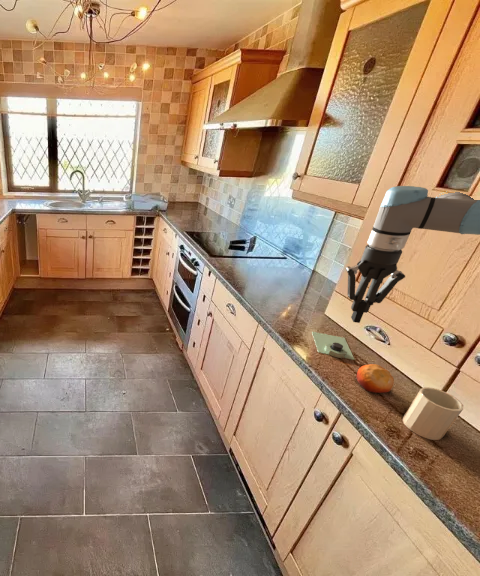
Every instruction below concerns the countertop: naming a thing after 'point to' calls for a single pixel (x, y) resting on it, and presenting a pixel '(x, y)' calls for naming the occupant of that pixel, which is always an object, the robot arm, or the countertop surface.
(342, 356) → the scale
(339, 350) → the tare button
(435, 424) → the cup
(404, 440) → the countertop surface
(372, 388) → the fruit
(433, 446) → the countertop surface
